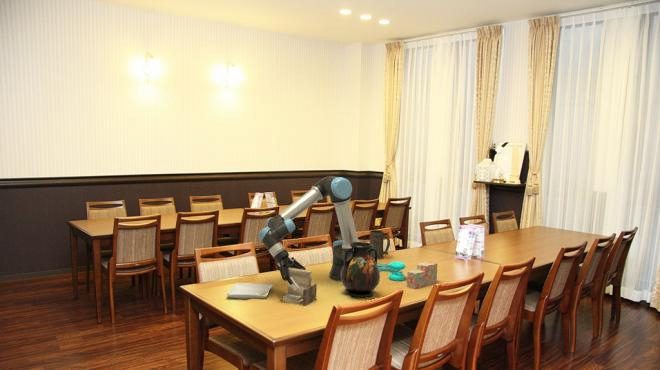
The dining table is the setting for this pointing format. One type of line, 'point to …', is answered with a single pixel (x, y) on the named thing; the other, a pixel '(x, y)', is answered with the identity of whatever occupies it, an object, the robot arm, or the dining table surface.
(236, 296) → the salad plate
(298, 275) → the birch board
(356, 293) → the amphora vase
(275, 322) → the dining table surface
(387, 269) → the alien figure
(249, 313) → the dining table surface
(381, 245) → the beer stein
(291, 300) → the offcut stack
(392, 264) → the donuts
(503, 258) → the dining table surface
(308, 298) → the walnut rack
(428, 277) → the stack of blocks
